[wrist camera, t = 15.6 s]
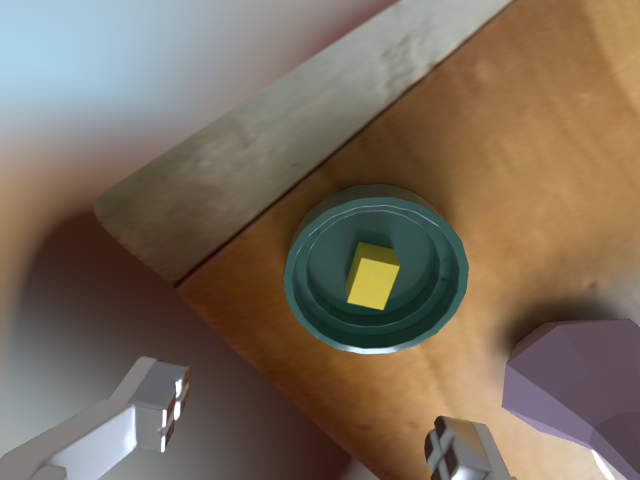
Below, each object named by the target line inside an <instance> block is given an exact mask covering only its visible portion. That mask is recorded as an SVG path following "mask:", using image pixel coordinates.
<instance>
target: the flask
mask: <svg viewBox="0 0 640 480" xmlns="http://www.w3.org/2000/svg"><path fill="white" fill-rule="evenodd" d="M502 407H503V408H504V409H506V410H507V411H509V412H510V413H512V414H513V415H515V416H517V417H518V418H520V419H521V420H523V421H524V422H526V423H527V424H529V425H531V426H532V427H534V428H535V429H537V430H538V431H540V432H544V433H547V434H550V435H553V436H556V437H559V438H563V439H566V440H569V441H572V442H575V443H577V444H580V445H582V446H584V447H587V448H589V449H591V450H594V451H596V452H597V453H598V454H600V455H601V456H602V457H603V458H604V459H605V460H606V461H607V462H608V463H609V464H611V465H612V466H613V467H614V468H615V469H616V470H617V471H618V472H619V473H620V474H622V475H623V476H624V477H625V478H626V479H627V480H640V327H639V326H638V325H636V324H635V323H634V322H633V321H632V320H630V319H575V320H565V321H554V322H543V323H542V324H541V325H540V326H538V327H537V328H536V329H534V330H533V331H532V332H530V333H529V334H528V335H526V336H525V337H524V338H522V339H521V340H520V341H519V342H517V344H516V346H515V348H514V350H513V352H512V354H511V356H510V358H509V360H508V362H507V364H506V371H505V380H504V390H503V400H502Z"/></svg>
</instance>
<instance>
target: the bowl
mask: <svg viewBox="0 0 640 480" xmlns="http://www.w3.org/2000/svg"><path fill="white" fill-rule="evenodd" d="M359 242H364V243H368V244H372V245H377V246H381V247H386V248H390V249H394V252H395V254H396V257H397V260H398V263H399V265H400V267H399V270H398V273H397V275H396V278H395V281H394V283H393V286H392V288H391V291H390V294H389V296H388V299H387V301H386V304H385V307H384V309H383V310H380V309H376V308H371V307H366V306H362V305H357V304H352V303H348V302H347V291H346V281H347V278H348V275H349V272H350V268H351V265H352V262H353V259H354V256H355V252H356V249H357V246H358V243H359ZM468 266H469V265H468V262H467V258H466V255H465V251H464V247H463V244H462V241H461V240H460V238H459V237H458V236H457V234H456V233H455V232H454V230H453V229H452V228H451V226H450V225H449V224H448V223H447V221H446V220H445V219H444V218H443V216H442V215H441V214H440V213H439V212H438V210H437V209H436V208H435V207H434V206H433V205H432V204H431V203H429V202H428V201H426V200H425V199H423V198H421V197H420V196H418V195H417V194H415V193H414V192H412V191H410V190H406V189H402V188H398V187H394V186H390V185H386V184H372V185H359V186H352V187H350V188H347V189H345V190H342V191H340V192H337V193H335V194H332V195H330V196H328V197H326V198H325V199H323V200H322V201H321V202H320V203H318V204H317V205H316V206H315V207H314V208H312V209H311V210H310V211H309V212H307V213H306V215H305V216H304V218H303V220H302V221H301V223H300V224H299V226H298V228H297V229H296V231H295V232H294V234H293V236H292V240H291V244H290V247H289V251H288V255H287V260H286V265H285V269H284V274H283V281H284V288H285V294H286V300H287V303H288V304H289V306H290V308H291V310H292V312H293V313H294V315H295V317H296V319H297V321H298V322H299V323H300V324H301V325H302V326H303V327H304V328H305V329H307V330H308V331H309V332H310V333H311V334H312V335H313V336H314V337H315V338H316V339H318V340H320V341H322V342H324V343H326V344H328V345H330V346H332V347H334V348H336V349H340V350H345V351H349V352H354V353H359V354H384V353H392V352H395V351H399V350H402V349H406V348H409V347H413V346H415V345H417V344H419V343H421V342H422V341H424V340H426V339H428V338H429V337H431V336H433V335H434V334H436V333H437V332H438V331H439V330H440V329H441V328H442V327H443V326H444V325H445V324H446V323H447V322H448V321H449V320H450V319H451V318H452V317H453V316H454V314H455V313H456V311H457V309H458V307H459V305H460V303H461V301H462V299H463V297H464V295H465V293H466V287H467V278H468V269H469V267H468Z"/></svg>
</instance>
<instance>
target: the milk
mask: <svg viewBox="0 0 640 480" xmlns="http://www.w3.org/2000/svg"><path fill="white" fill-rule="evenodd" d="M592 452H593V455H594V457H595V459H596V462H597V464H598V466H599V468H600V469H601V471H602V472H603V473H604V475H605V476H606V478H607V479H608V480H627V479H626V478H625V477H624V476H623V475H622V474H620V473H619V472H618V471H617V470H616V469H615V468H614V467H613V466H612V465H611V464H609V463H608V462H607V461H606V460H605V459H604V458H603V457H602V456H601V455H600V454H598V453H597V452H596V451H594V450H592Z"/></svg>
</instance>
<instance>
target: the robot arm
mask: <svg viewBox="0 0 640 480" xmlns="http://www.w3.org/2000/svg"><path fill="white" fill-rule="evenodd" d="M190 375H191V367H189V366H185V365H181V364H176V363H172V362H168V361H163V360H158V359H154V358H148V357H144V356H142V357H141V358H139V359H138V360H137V361H136V363H135V364H134V365H133V367H132V368H131V370H130V371H129V372H128V374H127V375H126V376H125V378H124V379H123V381H122V382H121V383H120V385H119V386H118V387H117V389H116V390H115V392H114V393H113V394H112V396H111V397H110V399H109V400H104V399H103V400H101V401H99V402H97V403H96V404H94V405H92V406H90V407H89V408H87V409H85V410H83V411H81V412H80V413H78V414H76V415H74V416H72V417H71V418H69V419H67V420H65V421H63V422H62V423H60V424H58V425H56V426H55V427H53V428H51V429H49V430H47V431H46V432H44V433H42V434H40V435H38V436H37V437H35V438H33V439H31V440H30V441H28V442H26V443H24V444H22V445H21V446H19V447H17V448H15V449H13V450H12V451H10V452H8V453H6V454H5V455H4V456H3V457H2V458H1V459H0V480H97V479H98V478H99V477H101V476H102V475H103V474H104V473H106V472H107V471H108V470H109V469H110V468H112V467H113V466H114V465H115V464H116V463H118V462H119V461H120V460H121V459H123V458H124V457H125V456H126V455H127V454H129V453H130V452H131V451H132V450H133V448H140V449H147V450H154V451H160V452H164V450H165V448H166V446H167V443H168V441H169V439H170V437H171V435H172V433H173V431H174V421H175V420H176V419H177V418H179V417H180V416H181V413H182V411H183V409H184V406H185V404H186V401H187V398H188V393H189V386H190V385H189V384H188V382H187V381H188V379H189V377H190ZM434 425H435V429H433V430H431V431H429V432H428V434H427V436H426V439H425V446H424V449H425V457H426V462H427V464H428V465H429V467H430V468H431V469H432V470H433V474H432V476H431V480H517V479H516V478H515V477H512V476H510V474H509V472H508V470H507V468H506V465H505V463H504V461H503V459H502V457H501V454H500V452H499V450H498V448H497V446H496V444H495V441H494V439H493V437H492V435H491V433H490V431H489V428H488V427H487V426H486V425H485V424H481V423H476V422H471V421H467V420H462V419H456V418H451V417H446V416H439V417H437V418H436V420H435V422H434Z"/></svg>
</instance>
